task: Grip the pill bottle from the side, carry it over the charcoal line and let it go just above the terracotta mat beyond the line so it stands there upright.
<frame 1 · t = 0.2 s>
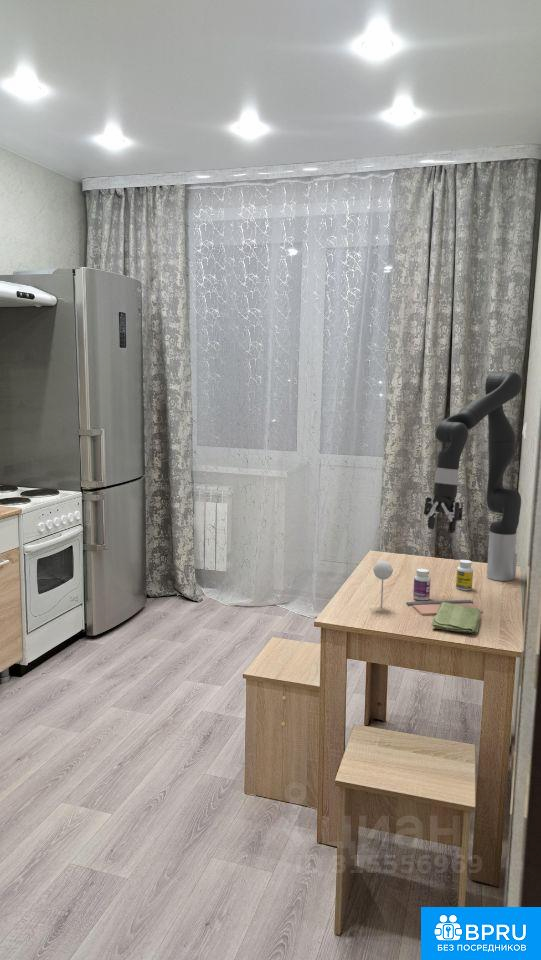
hand: (440, 530, 228), 22 cm above the table, tool pointing down, fingers open, 8 cm apart
washcloth: (457, 623, 204), on the table, touching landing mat
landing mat: (443, 606, 219), on the table
lollipop: (381, 607, 218), on the table
pill bottle: (421, 598, 228), on the table
supplement bottle: (463, 588, 239), on the table
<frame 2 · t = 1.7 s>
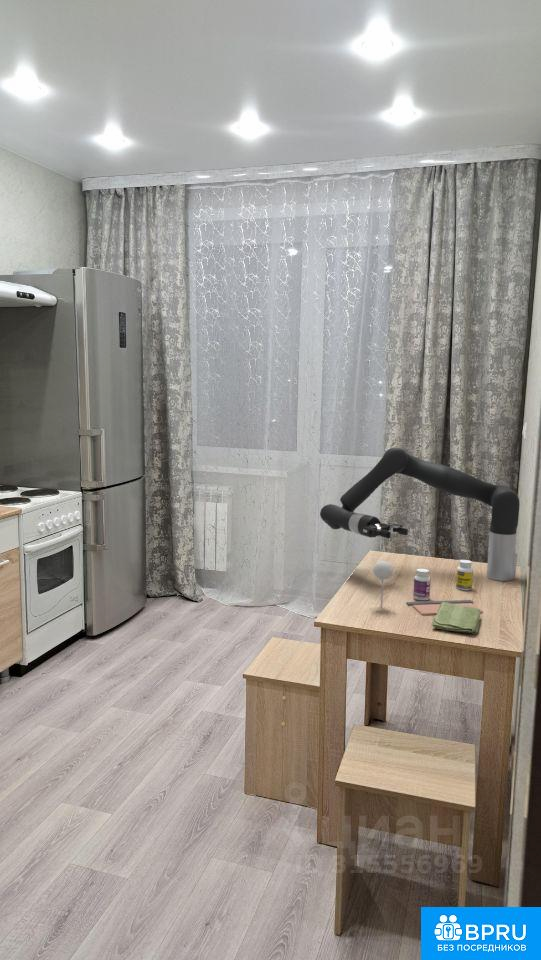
hand: (398, 533, 233), 20 cm above the table, tool horizontal, fingers open, 8 cm apart
nothing on the table moved.
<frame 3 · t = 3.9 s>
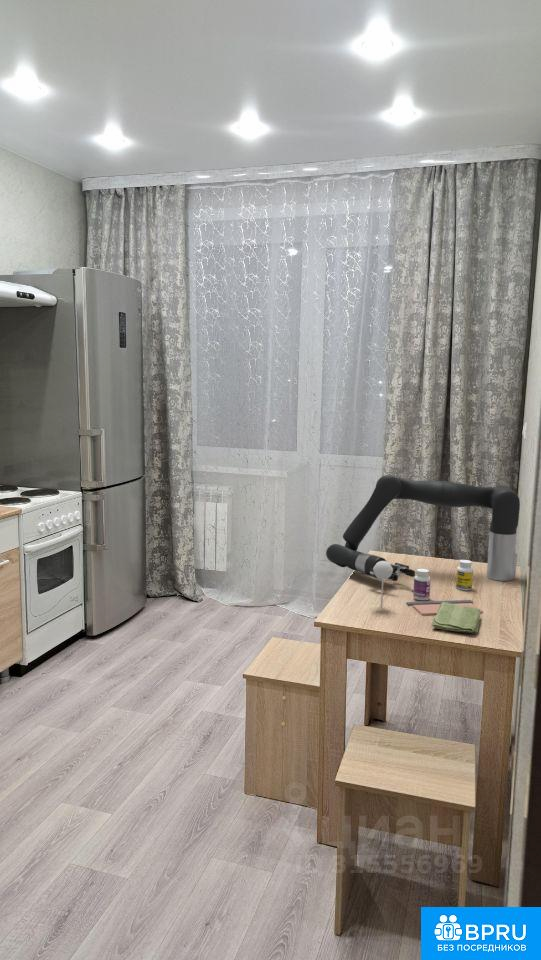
hand: (405, 575, 232), 6 cm above the table, tool horizontal, fingers open, 8 cm apart
nothing on the table moved.
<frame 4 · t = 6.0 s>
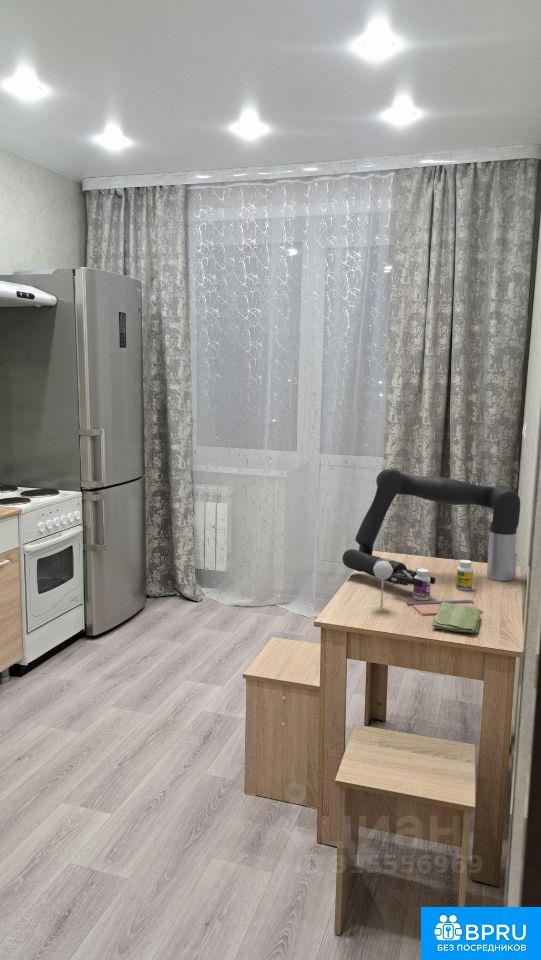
hand: (428, 582, 225), 6 cm above the table, tool horizontal, fingers closed on pill bottle, 5 cm apart
pill bottle: (421, 598, 228), on the table, touching gripper
everything else where it was.
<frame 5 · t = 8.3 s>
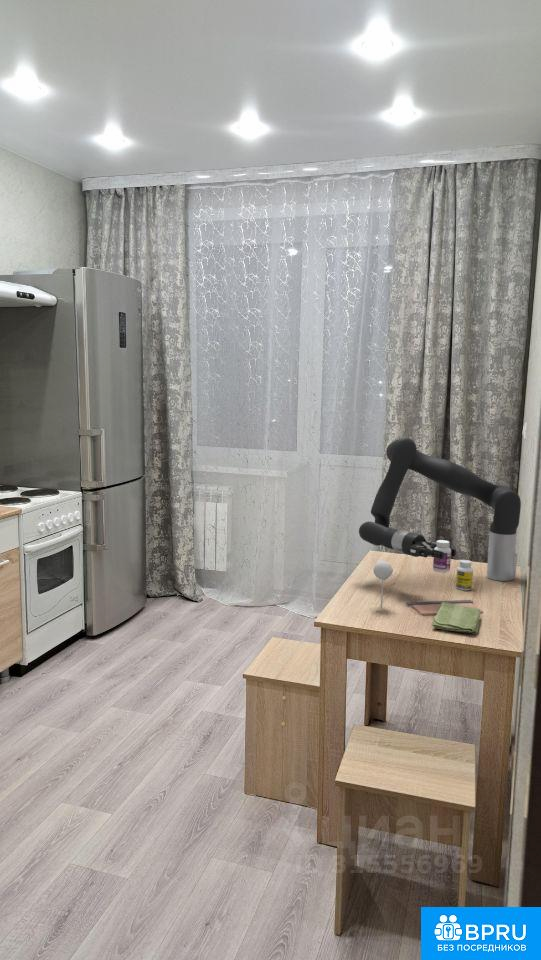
hand: (449, 554, 216), 18 cm above the table, tool horizontal, fingers closed on pill bottle, 5 cm apart
pill bottle: (441, 571, 219), point 11 cm above the table, touching gripper
everything else where it was.
when the fingers open (8 cm above the table, at t = 10.9 s): pill bottle drops 1 cm, resting on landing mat.
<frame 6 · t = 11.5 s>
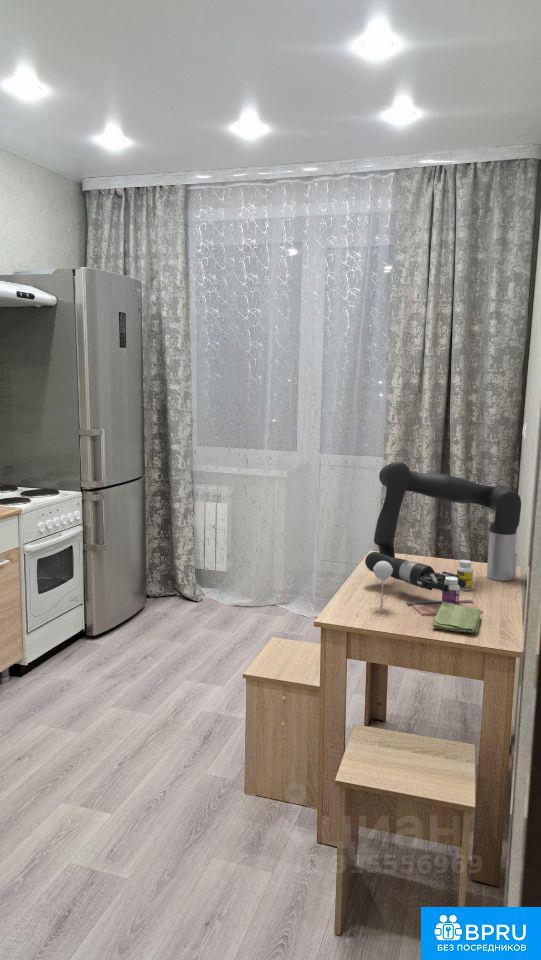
hand: (456, 586, 214), 8 cm above the table, tool horizontal, fingers open, 8 cm apart
pill bottle: (450, 608, 217), resting on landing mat
everything else where it was.
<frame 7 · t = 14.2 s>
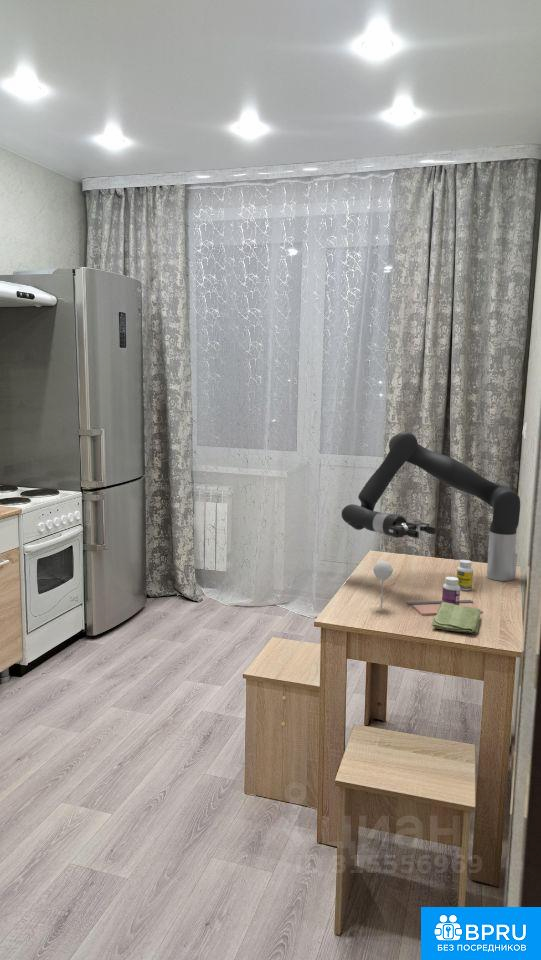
hand: (426, 532, 222), 23 cm above the table, tool horizontal, fingers open, 8 cm apart
nothing on the table moved.
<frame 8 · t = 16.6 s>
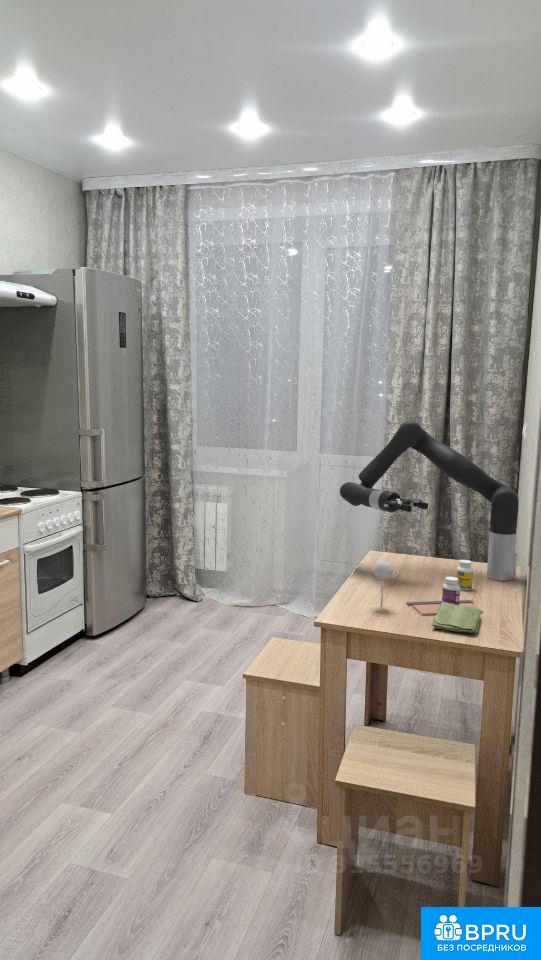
hand: (419, 507, 237), 28 cm above the table, tool horizontal, fingers open, 8 cm apart
nothing on the table moved.
at the end: pill bottle inside the target area (1.1 cm from its centre), resting on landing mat; pill bottle tilted 0°; the gripper is holding nothing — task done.
